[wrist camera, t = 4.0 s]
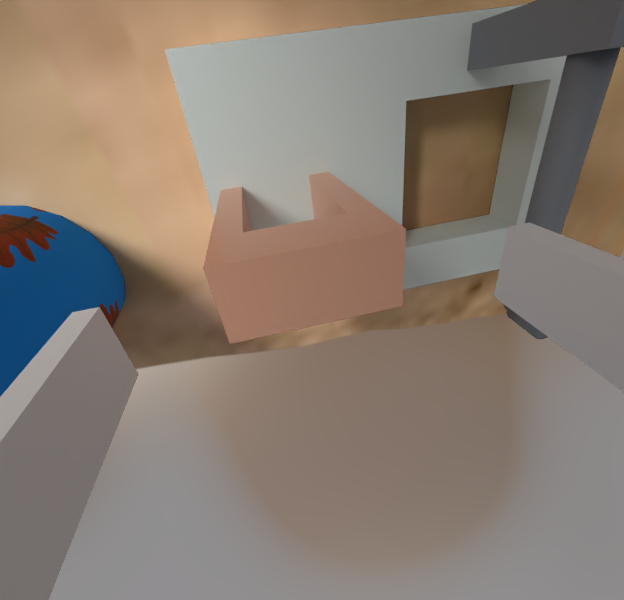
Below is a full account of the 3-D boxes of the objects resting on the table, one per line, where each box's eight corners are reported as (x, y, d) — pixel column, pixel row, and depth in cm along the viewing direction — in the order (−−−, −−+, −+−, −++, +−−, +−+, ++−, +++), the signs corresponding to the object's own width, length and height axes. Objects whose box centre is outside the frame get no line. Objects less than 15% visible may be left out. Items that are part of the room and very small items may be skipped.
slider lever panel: (245, 302, 26) (248, 419, 16) (175, 57, 17) (93, -5, 7) (492, 251, 28) (625, 327, 18) (541, 10, 19) (843, -85, 10)
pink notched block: (234, 238, 20) (229, 344, 11) (220, 189, 18) (203, 268, 9) (332, 220, 20) (402, 306, 12) (328, 171, 19) (406, 228, 10)
